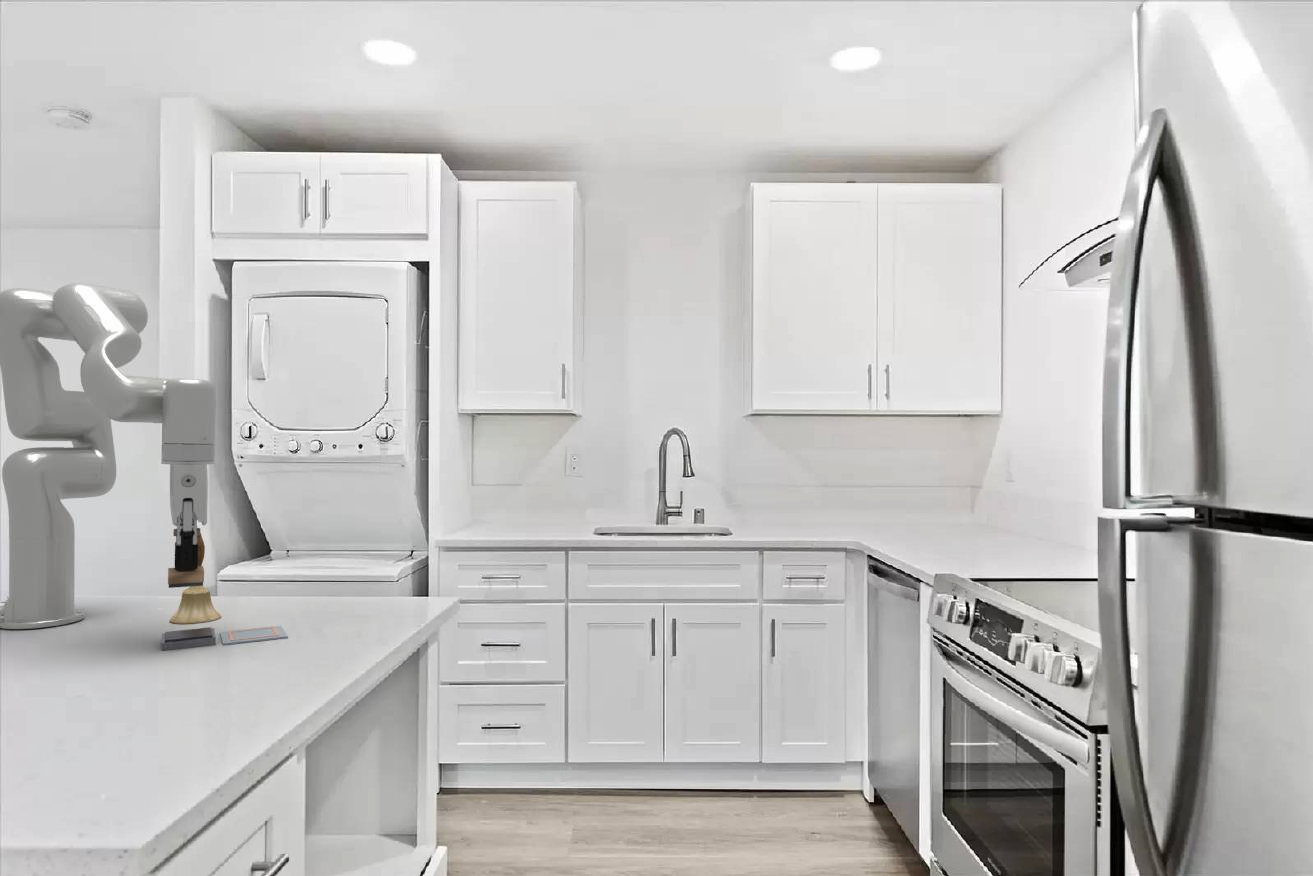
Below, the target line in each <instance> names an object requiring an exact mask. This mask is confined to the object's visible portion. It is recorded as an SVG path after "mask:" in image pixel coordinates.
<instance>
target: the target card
mask: <svg viewBox="0 0 1313 876" xmlns="http://www.w3.org/2000/svg"><path fill="white" fill-rule="evenodd" d="M219 635H220V638H221V643H222V646H228V645H237V644H248V643H255V642H263V641H273V640H274V641H275V640H283V639H288V638H289V637H288V635H287V633H286V632H285V629H284V628H283V626H282V625H272V626H263V627H252V628H244V629H236V630H235V629H232V630H224V631H220V632H219Z"/></svg>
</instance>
